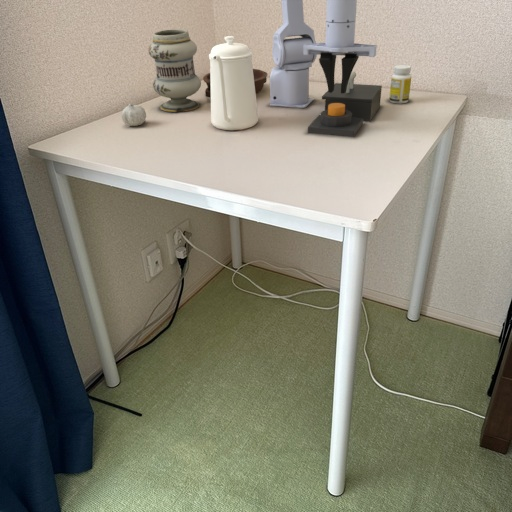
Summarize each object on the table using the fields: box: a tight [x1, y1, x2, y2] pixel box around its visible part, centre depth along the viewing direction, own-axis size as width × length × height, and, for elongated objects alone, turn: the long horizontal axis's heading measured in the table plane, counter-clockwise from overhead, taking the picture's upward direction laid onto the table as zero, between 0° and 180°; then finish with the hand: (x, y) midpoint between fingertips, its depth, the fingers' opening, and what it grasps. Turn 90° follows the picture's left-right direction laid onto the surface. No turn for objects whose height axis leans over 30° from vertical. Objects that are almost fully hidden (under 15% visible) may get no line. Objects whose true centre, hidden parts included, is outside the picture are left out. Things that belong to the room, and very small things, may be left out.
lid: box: [321, 70, 383, 103], centre depth 114 cm, size 11×13×4 cm
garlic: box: [121, 102, 147, 127], centre depth 114 cm, size 6×5×5 cm
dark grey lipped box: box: [324, 88, 383, 123], centre depth 116 cm, size 11×13×4 cm
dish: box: [202, 68, 268, 99], centre depth 135 cm, size 18×22×5 cm
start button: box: [328, 103, 345, 116], centre depth 105 cm, size 4×4×2 cm
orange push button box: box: [307, 109, 364, 138], centre depth 106 cm, size 10×9×4 cm
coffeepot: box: [208, 35, 259, 131], centre depth 108 cm, size 11×25×19 cm, turn 168°
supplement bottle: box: [388, 64, 412, 105], centre depth 121 cm, size 5×5×8 cm
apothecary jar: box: [148, 28, 202, 113], centre depth 122 cm, size 12×12×18 cm
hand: (337, 91), depth 103 cm, fingers closed
